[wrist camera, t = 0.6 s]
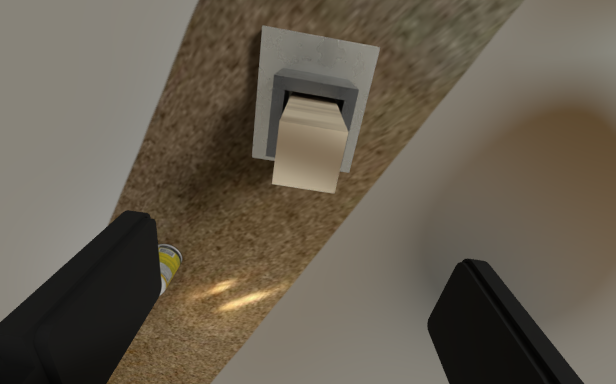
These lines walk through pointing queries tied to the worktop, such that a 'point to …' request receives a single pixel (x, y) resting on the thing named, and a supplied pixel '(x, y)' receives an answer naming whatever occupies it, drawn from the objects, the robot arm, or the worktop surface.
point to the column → (310, 143)
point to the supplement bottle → (168, 263)
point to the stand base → (310, 82)
